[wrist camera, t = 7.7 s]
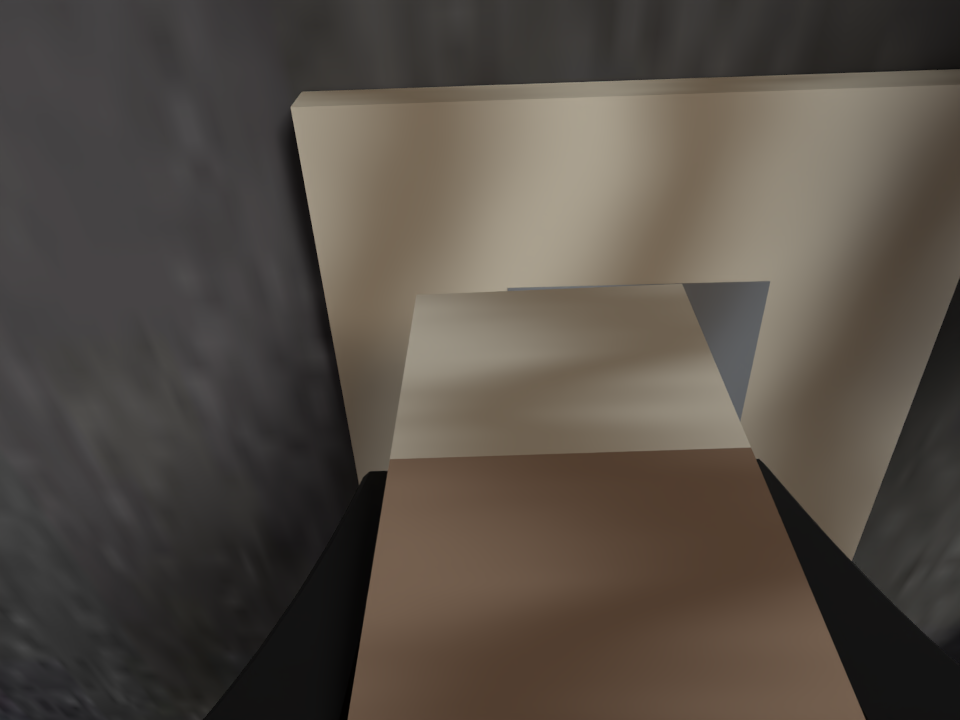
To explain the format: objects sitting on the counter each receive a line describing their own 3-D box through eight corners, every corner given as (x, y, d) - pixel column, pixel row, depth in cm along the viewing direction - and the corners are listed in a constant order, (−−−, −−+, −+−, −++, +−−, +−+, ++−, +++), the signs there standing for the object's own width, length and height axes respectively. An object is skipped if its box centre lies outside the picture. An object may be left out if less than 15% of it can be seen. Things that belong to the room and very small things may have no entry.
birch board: (1002, 67, 17) (1035, 82, 16) (834, 543, 26) (848, 572, 25) (302, 92, 17) (290, 107, 16) (380, 550, 27) (375, 578, 26)
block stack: (682, 283, 12) (896, 796, 6) (659, 477, 15) (791, 985, 8) (416, 294, 12) (334, 804, 6) (439, 484, 15) (399, 986, 8)
